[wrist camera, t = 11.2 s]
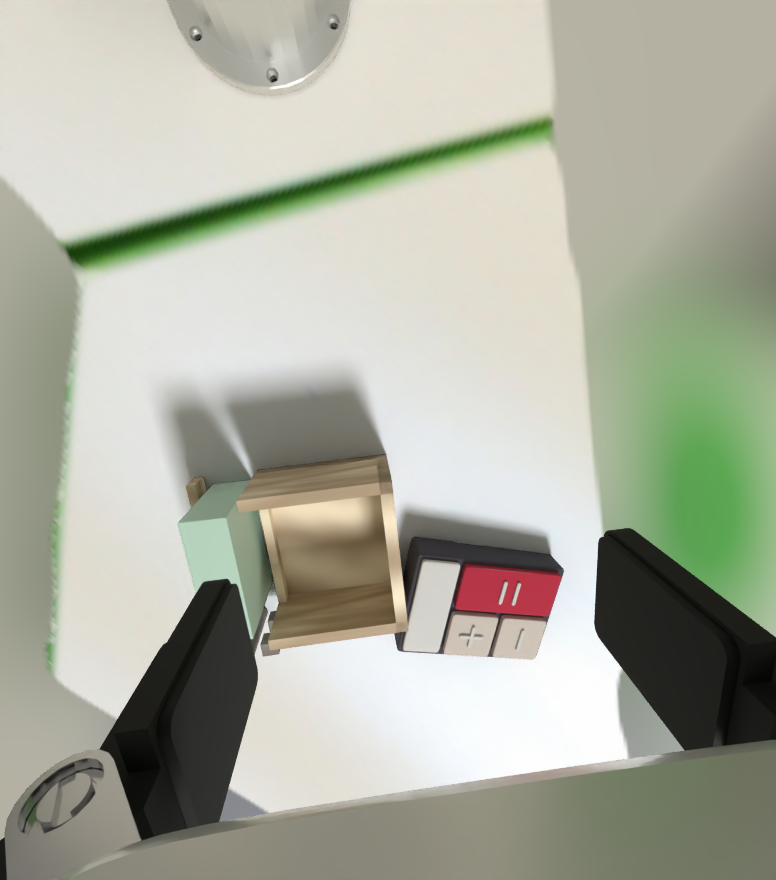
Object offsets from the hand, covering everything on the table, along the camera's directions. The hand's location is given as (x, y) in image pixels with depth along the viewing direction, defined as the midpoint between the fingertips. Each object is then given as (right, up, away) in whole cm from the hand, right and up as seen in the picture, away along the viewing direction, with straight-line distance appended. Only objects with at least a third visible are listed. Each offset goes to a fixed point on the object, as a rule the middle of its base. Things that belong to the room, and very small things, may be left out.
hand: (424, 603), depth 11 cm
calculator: (+8, -12, +34) cm, 36 cm away
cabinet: (-9, -6, +30) cm, 32 cm away
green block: (-15, -5, +30) cm, 34 cm away
